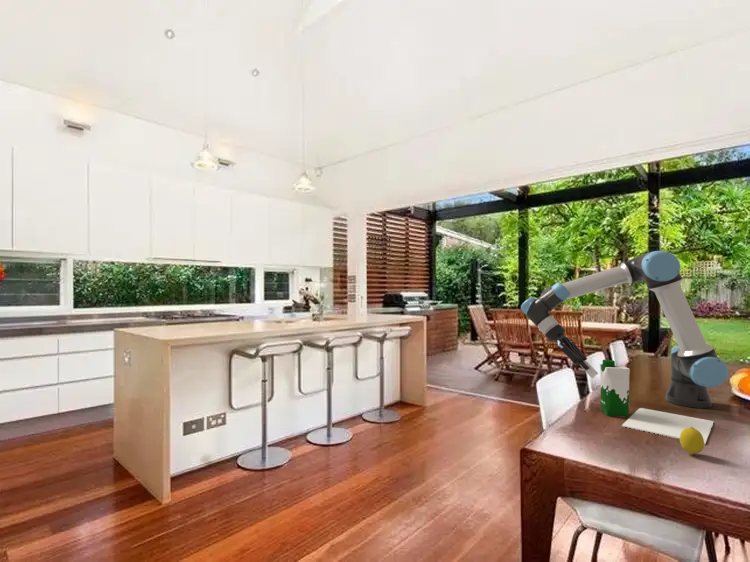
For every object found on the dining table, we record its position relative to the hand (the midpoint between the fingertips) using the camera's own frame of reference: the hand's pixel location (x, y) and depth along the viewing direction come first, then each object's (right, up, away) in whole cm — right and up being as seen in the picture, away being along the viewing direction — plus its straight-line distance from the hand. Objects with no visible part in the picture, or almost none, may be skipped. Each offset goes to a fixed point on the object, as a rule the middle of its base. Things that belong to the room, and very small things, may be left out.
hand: (595, 375), depth 161 cm
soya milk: (+5, -13, -5) cm, 15 cm away
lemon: (+6, -13, -41) cm, 44 cm away
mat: (+17, -13, -16) cm, 27 cm away
